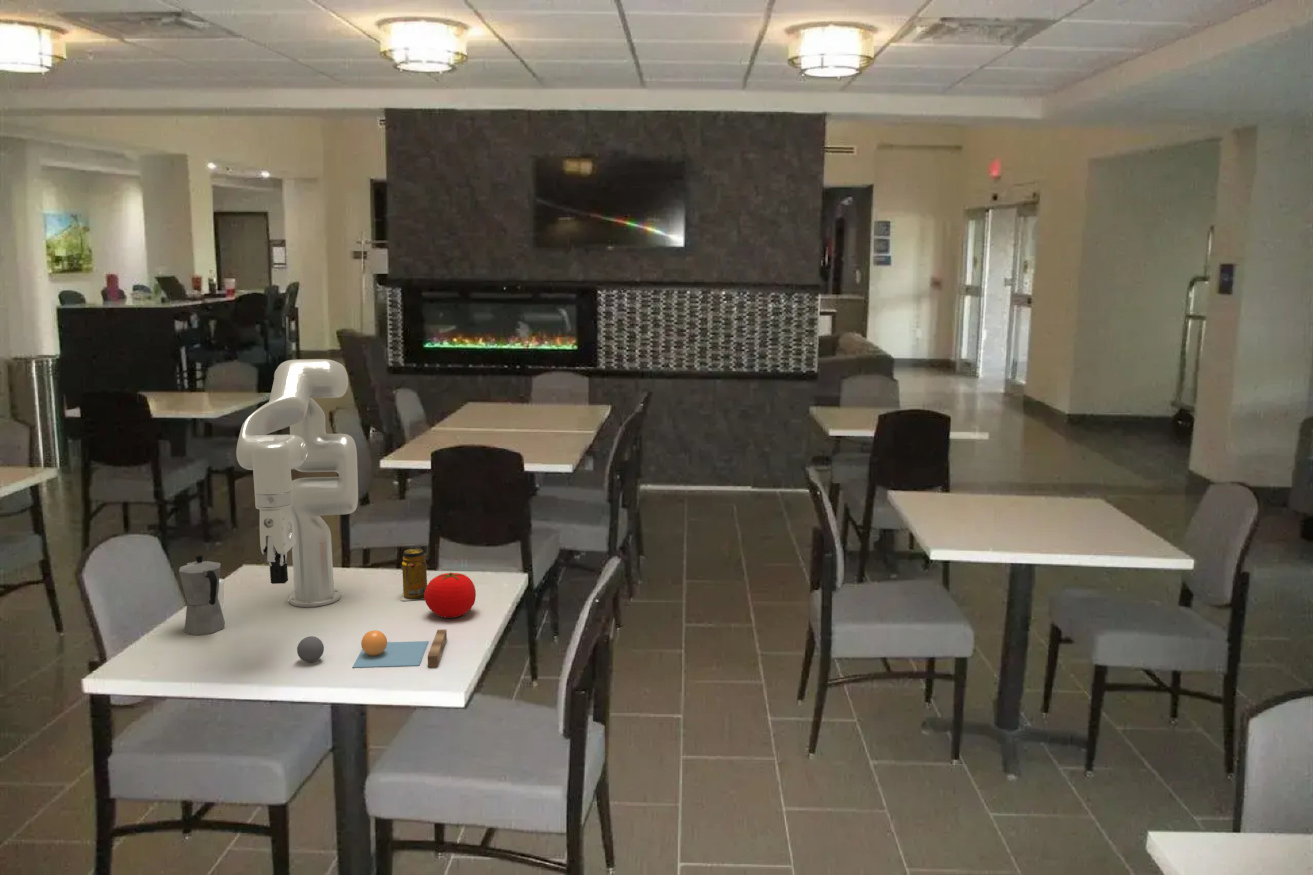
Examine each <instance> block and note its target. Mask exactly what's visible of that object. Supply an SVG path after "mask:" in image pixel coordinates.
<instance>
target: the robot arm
mask: <svg viewBox="0 0 1313 875" xmlns="http://www.w3.org/2000/svg"><path fill="white" fill-rule="evenodd" d="M273 378H274V379H273V382H272V383H273V384H272V388H271V392H270V395H269V401H268V402H266V403H265V404H263V405H261V406H260V407H259V408H257V409H256V410H255V411H253V412H252V413H251V414H250V415H249V416H248V417H247V418H246V419H245V420H244V422H243V423H242V425H241V428H240V432H239V435H238V439H237V444H236V453H235V454H236V460H237V462H238V464H239V466H240V467H241V468H243V469H245V470H250V471H252V473H253V475H252V476H253V484H254V485H253V487H254V489H253V490H254V502H255V503H254V504H255V509H257V510H259V543H260V544H259V545H260V546H259V547H260V551H261V554H262V555H263V556H266V555H267V556H266V557H267V558H266V559H267V563H268V565H269V574H270V575H269V576H270V583H271V584H272V585H275V584H276V585H278V584H279V585H280V584H286V583H287V582H288V581H289V574H288V573H289V572H288V563H287V562H288V552H289V551H290V550H291V552H292V553H291V555H292V568H293V569H292V570H293V571H292V572H293V584H294V585H293V586H294V592H293V593H291V594H290V595H289V597H288V603H289V604H290V605H291V606H295V607H300V608H301V607H302V608H312V607H313V608H314V607H315V608H316V607H322V606H326V605H329V604H333V603H336V602H337V601H338V600H340V598H341V597H342V595H341V594H342V593H341V591H340V590H339V589H336V588H335V584H334V583H335V582H334V581H335V580H334V565H333V548H332V547H333V546H332V533H331V529H330V527H329V525H328V524H327V523H326V521H325V520H324V519H323V518H322V516H335V515H336V516H338V515H339V516H340V515H348V514H349V515H350V514H352V513H354V512H355V511H356V510H357V508H358V503H359V481H358V480H359V479H358V478H359V476H358V474H359V473H358V452H357V445H356V442H355V439H354V438H353V436H351V435H350V434H347V433H327V431H326V430H327V429H326V415H325V414H326V413H325V412H324V410H323V408H322V407H321V406H320V405H319V403H317V401H315V400H314V399H326V398H327V399H330V398H331V399H333V398H334V399H335V398H337V399H338V398H342V397H343V396H344V395H345V394H346V392H348V388H349V376H348V372H347V370H346V368H345V366H344V364H341V363H340V362H338V361H335V360H333V359H328V358H327V359H326V358H325V359H324V358H322V359H321V358H320V359H319V358H315V359H314V358H312V359H311V358H310V359H309V358H308V359H289V360H285V361H283V362H281V363H280V364H279V365H278V366H277V368H276V369H275V371H274V374H273ZM288 427H289V434H271V433H274V432H277V431H280V430H284V429H287V428H288ZM292 470H296V471H298V472H301V473H322V472H323V473H325V472H326V473H329V472H333V473H334V472H335V473H337V474H338V476H328V477H327V476H325V477H324V476H320V477H319V476H317V477H316V476H315V477H312V476H311V477H300V478H296V479H294V480H293V479H292Z"/></svg>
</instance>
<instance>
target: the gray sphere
mask: <svg viewBox="0 0 1313 875" xmlns="http://www.w3.org/2000/svg"><path fill="white" fill-rule="evenodd" d="M323 643H324V642H322V640H321V639H320V638H319V637H316V636H306V637H304V638H302V639H301V640H300V641H299V643H298V645H297V648H296V651H297V652H296V653H297V656H298V657H299V659H300V660H301V661H303V662H305V663H313V662H316V661H318V660H320V658H321V657H322V656H323V654H324V651H325V646H324V644H323Z"/></svg>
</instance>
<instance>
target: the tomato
mask: <svg viewBox="0 0 1313 875" xmlns="http://www.w3.org/2000/svg"><path fill="white" fill-rule="evenodd" d="M476 592H477V591H476V587H475V583H474V582H473V581H472V579H471V578H470V576H467V575H466V574H463V573H459V572H446V573H441V574H438V575H437V576H435V577H434V578H432V579H431V580H430V581H429V582H428V583H427V587H426V590H425V593H424V599H423V600H424V602H425V604H426V606H427V608H429V610H430V611H431V612H432V613H433V614H435V615H436V616H438V617H442V618H457V617H461V616H463V615H465V614H467V612H469V611H470V610H471V609H472V608H473V606H474V604H475V602H476V596H477V593H476Z"/></svg>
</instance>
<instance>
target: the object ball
mask: <svg viewBox="0 0 1313 875" xmlns="http://www.w3.org/2000/svg"><path fill="white" fill-rule="evenodd" d="M387 642H388V640H387V637H386V635H385V634H384V633H383V631H382V632H381V631H380V630H377V629H375V630H374V629H373V630H369V631H367V632H366V633H365V634H364V635H363V636H362V638H361V642H360V643H361V650H362V649H363V651H364V652H365V653H366V654H368V655H370V656H377V655H380V654H381V653H383V652H384V650H385V649H386V647H387Z"/></svg>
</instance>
